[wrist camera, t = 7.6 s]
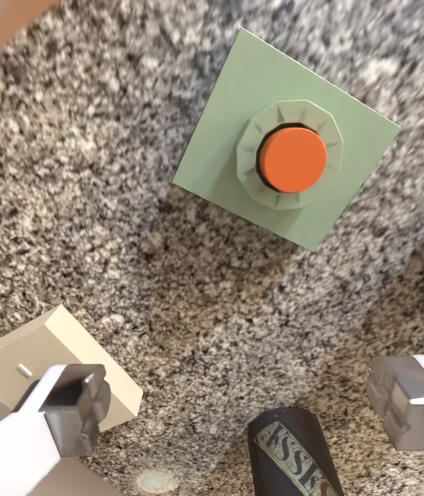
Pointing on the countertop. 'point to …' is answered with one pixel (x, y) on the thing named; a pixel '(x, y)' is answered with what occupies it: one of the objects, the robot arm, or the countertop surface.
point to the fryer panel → (61, 362)
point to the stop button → (293, 159)
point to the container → (291, 455)
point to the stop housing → (267, 123)
